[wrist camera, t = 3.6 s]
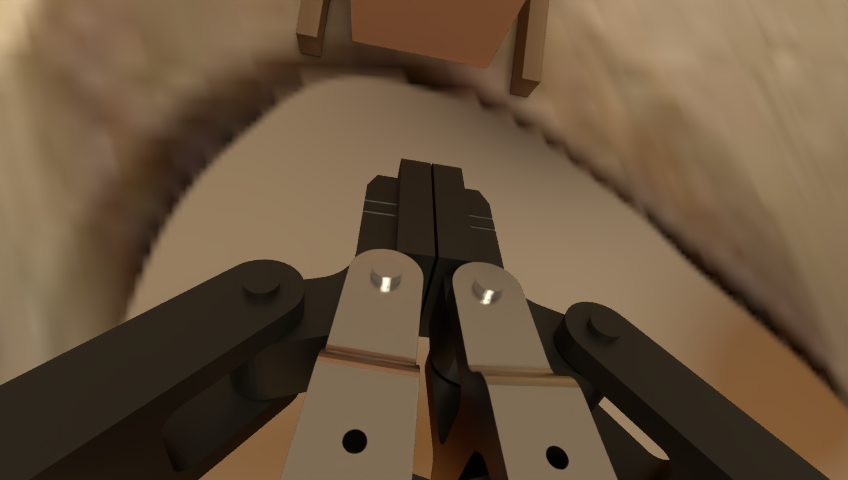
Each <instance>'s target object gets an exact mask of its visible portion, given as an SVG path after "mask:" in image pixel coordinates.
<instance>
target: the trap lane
mask: <svg viewBox="0 0 848 480" xmlns="http://www.w3.org/2000/svg"><path fill="white" fill-rule="evenodd" d="M329 2H330V0H302V1H301V7H300V13H299V18H298V24H297V30H296V35H297V39H298V43H299V47H300V51H301V53H304V54H309V55H314V56H320V55H321V49H322V43H323V37H324V31H325V26H326V20H327V14H328V8H329ZM548 6H549V0H526V1H525V2H524V4H523V6H522V8H521V9H520V11H519V20H518V29H517V37H516V46H515V55H514V64H513V73H512V81H511V90H510V94H515V95H520V96H525V97H528V95H529V94H530V93H531V92H532V91H533V90H534V89H535V88H536V86H537V85H538V84H539V83H540V82H541V72H542V63H543V53H544V44H545V34H546V25H547V15H548Z"/></svg>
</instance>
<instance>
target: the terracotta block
mask: <svg viewBox="0 0 848 480" xmlns="http://www.w3.org/2000/svg"><path fill="white" fill-rule="evenodd" d="M525 1H526V0H351V23H352V41H355V42H360V43H365V44H370V45H375V46H380V47H385V48H390V49H395V50H400V51H405V52H410V53H415V54H420V55H425V56H430V57H434V58H439V59H444V60H449V61H454V62H459V63H464V64H469V65H474V66H479V67H484V68H487V66H488V64H489V63H490V61H491V59H492V58H493V56H494V54H495V52H496V51H497V49H498V47H499V45H500V44H501V42H502V40H503V39H504V37H505V35H506V33H507V32H508V30H509V28H510V27H511V25H512V23H513V21H514V20H515V18H516V16H517V15H518V13H519V11H520V9H521V8H522V6H523V4H524V2H525Z"/></svg>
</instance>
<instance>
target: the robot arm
mask: <svg viewBox="0 0 848 480" xmlns="http://www.w3.org/2000/svg"><path fill="white" fill-rule="evenodd" d="M494 230H495V227H494V223H493V220H492V214H491V209H490V205H489V203H488V202H487V201H486V199H485V198H484V197H483V196H482V195H481V193H480V192H479V191H477V190H471V189H465V188H464V181H463V176H462V169H461V168H457V167H451V166H444V165H439V164H432V165H431V164H430V163H426V162H420V161H414V160H407V159H401V162H400V167H399V173H398V178H393V177H387V176H381V175H377V176H376V177H375V178H374V179H373V180H372V181H371V182H370V183H369V184H368V185H367V190H366V196H365V202H364V208H363V214H362V220H361V226H360V233H359V239H358V245H357V251H356V255H355V258H354V259H353V261H352V262H351V264H350V265H349V266H348V267H347V268H345V269H344V270H342V271H341V272H339V273H336V274H334V275H331V276H327V277H321V278H314V279H305V280H303V277H302V276H301V274H300V273H299V272H298V271H297V270H296V269H295V268H293V267H292V266H290V265H288V264H286V263H282V262H279V261H275V260H254V261H249V262H245V263H242V264H240V265H238V266H235V267H234V268H231V269H229V270H227V271H225V272H223V273H221V274H219V275H218V276H216V277H213V278H211V279H209V280H207V281H205V282H204V283H202V284H200V285H198V286H196V287H194V288H192V289H190V290H188V291H186V292H184V293H182V294H180V295H178V296H176V297H174V298H172V299H170V300H168V301H166V302H164V303H162V304H160V305H158V306H156V307H154V308H152V309H150V310H149V311H147V312H144V313H142V314H141V315H138V316H136V317H134V318H132V319H130V320H128V321H126V322H124V323H123V324H121V325H119V326H117V327H115V328H113V329H111V330H109V331H107V332H105V333H103V334H101V335H99V336H97V337H95V338H93V339H91V340H89V341H87V342H85V343H83V344H81V345H79V346H77V347H75V348H73V349H71V350H69V351H67V352H65V353H63V354H61V355H59V356H57V357H55V358H53V359H51V360H49V361H47V362H46V363H44V364H42V365H40V366H38V367H36V368H34V369H32V370H30V371H28V372H26V373H24V374H22V375H20V376H18V377H16V378H14V379H12V380H10V381H8V382H6V383H4V384H2V385H0V480H198V479H200V478H201V477H202V476H203V475H204V474H206V473H207V472H208V471H209V470H210V469H212V468H213V467H214V466H215V465H217V464H218V463H219V462H220V461H222V460H223V459H224V458H225V457H226V456H227V455H229V454H230V453H231V452H232V451H234V450H235V449H236V448H237V447H238V446H240V445H241V444H242V443H243V442H244V441H245V440H247V439H248V438H249V437H251V436H252V435H253V434H254V433H255V432H257V431H258V430H259V429H260V428H261V427H263V426H264V425H265V424H266V423H267V422H268V421H270V420H271V419H272V418H273V417H275V416H276V415H277V414H278V413H279V412H281V411H282V410H283V409H284V408H285V407H287V406H288V405H289V404H290V403H291V402H292V401H293V400H294V399H295V398H296V397H297V395H298V393H302V392H307V393H306V396H305V400H304V402H303V406H302V409H301V412H300V416H299V419H298V423H297V426H296V429H295V432H294V435H293V439H292V442H291V445H290V449H289V452H288V455H287V459H286V462H285V465H284V468H283V472H282V475H281V478H280V480H429V479H426V478H424V477H421V476H418V475H415V474H412V471H413V459H414V446H415V433H416V421H417V408H418V395H419V381H420V367H419V365H416V356H417V345H418V336H420V337H429V340H430V350H429V353H428V356H427V360H426V364H425V377H426V386H427V395H428V406H429V416H430V425H431V435H432V445H433V466H432V473H431V480H830V479H829V478H827V477H826V476H825V475H824V474H822V473H821V472H820V471H818V470H817V469H816V468H814V467H813V466H812V465H811V464H809V463H808V462H807V461H806V460H804V459H803V458H802V457H801V456H799V455H798V454H797V453H795V452H794V451H793V450H792V449H790V448H789V447H788V446H787V445H785V444H784V443H783V442H782V441H780V440H779V439H778V438H776V437H775V436H774V435H773V434H771V433H770V432H769V431H767V430H766V429H765V428H764V427H762V426H761V425H760V424H759V423H757V422H756V421H755V420H753V419H752V418H751V417H750V416H748V415H747V414H746V413H745V412H743V411H742V410H741V409H739V408H738V407H737V406H736V405H734V404H733V403H732V402H731V401H729V400H728V399H726V397H724V396H723V395H722V394H720V393H719V392H718V391H716V390H715V389H714V388H713V387H711V386H710V385H709V384H708V383H706V382H705V381H704V380H703V379H701V378H700V377H699V376H698V375H696V374H695V373H694V372H692V371H691V370H690V369H689V368H687V367H686V366H685V365H684V364H682V363H681V362H680V361H678V360H677V359H676V358H675V357H673V356H672V355H671V354H670V353H668V352H667V351H666V350H664V349H663V348H662V347H661V346H659V345H658V344H657V343H656V342H654V341H653V340H652V339H650V338H649V337H648V336H646V335H645V334H644V333H643V332H642V331H640V330H639V329H638V328H636V327H635V326H634V325H633V324H631V323H630V322H629V321H627V320H626V319H625V318H623V317H622V316H621V315H620V314H618V313H617V312H615V311H613V310H612V309H610V308H608V307H606V306H603V305H600V304H597V303H593V302H580V303H576V304H574V305H572V306H571V307H569V309H568V310H567V312H566V314H565V315H564V314H561V313H559V312H556V311H554V310H551V309H548V308H546V307H543V306H540V305H538V304H536V303H533V302H532V301H530V300H528V299H526V298H525V295H524V293H523V290H522V288H521V286H520V284H519V282H518V281H517V280H516V279H515V278H514V277H513V276H512V275H511V274H510V273H509V272H507V271H506V270H504V267H503V263H502V258H501V254H500V249H499V245H498V241H497V237H496V232H495V231H494ZM604 396H605V397H606V398H607V399H608V400H609V401H611V402H612V403H613V404H614V405H615V406H616V407H617V408H618V409H619V410H620V411H621V412H622V413H624V414H625V415H626V416H627V417H628V418H629V419H630V420H631V421H632V422H633V423H634V424H635V425H636V426H638V427H639V428H640V429H641V430H642V431H643V432H644V433H645V434H646V435H647V436H648V437H650V438H651V439H652V440H653V441H654V442H655V443H656V444H657V445H658V446H659V447H660V448H661V449H663V451H664V452H665V453H666V454H667V456H668V457H669V459H670V460H663V459H660V458H657V457H655V456H653V455H652V454H651V453H649V452H648V451H647V450H646V449H645V448H644V447H643V446H642V445H641V444H640V443H639V442H638V441H636V440H635V439H634V438H633V437H632V436H631V435H630V434H629V433H628V432H627V431H626V430H625V429H624V428H623V427H622V426H620V425H619V424H618V423H617V422H616V421H615V420H614V419H613V418H612V417H611V416H610V415H609V414H608V413H607V412H606V411H605V410H603V408H601V407H600V406H599V405H598V404H599V403H600V401H601V400H602V399H603V398H604Z"/></svg>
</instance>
